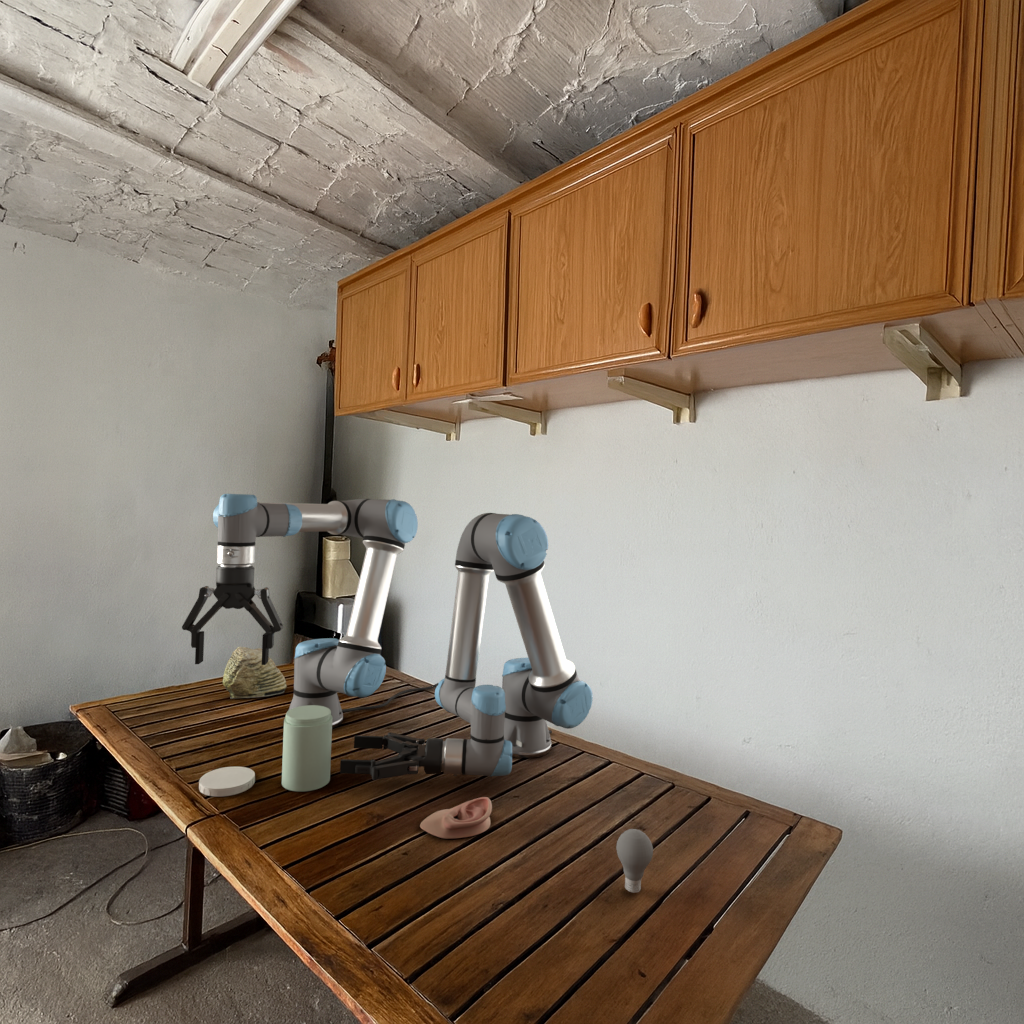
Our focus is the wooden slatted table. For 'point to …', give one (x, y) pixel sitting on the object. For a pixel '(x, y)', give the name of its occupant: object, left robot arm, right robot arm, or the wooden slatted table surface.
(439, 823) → the anatomical model
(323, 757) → the jar
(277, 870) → the wooden slatted table surface
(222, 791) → the lid
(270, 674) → the fossil
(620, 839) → the light bulb
